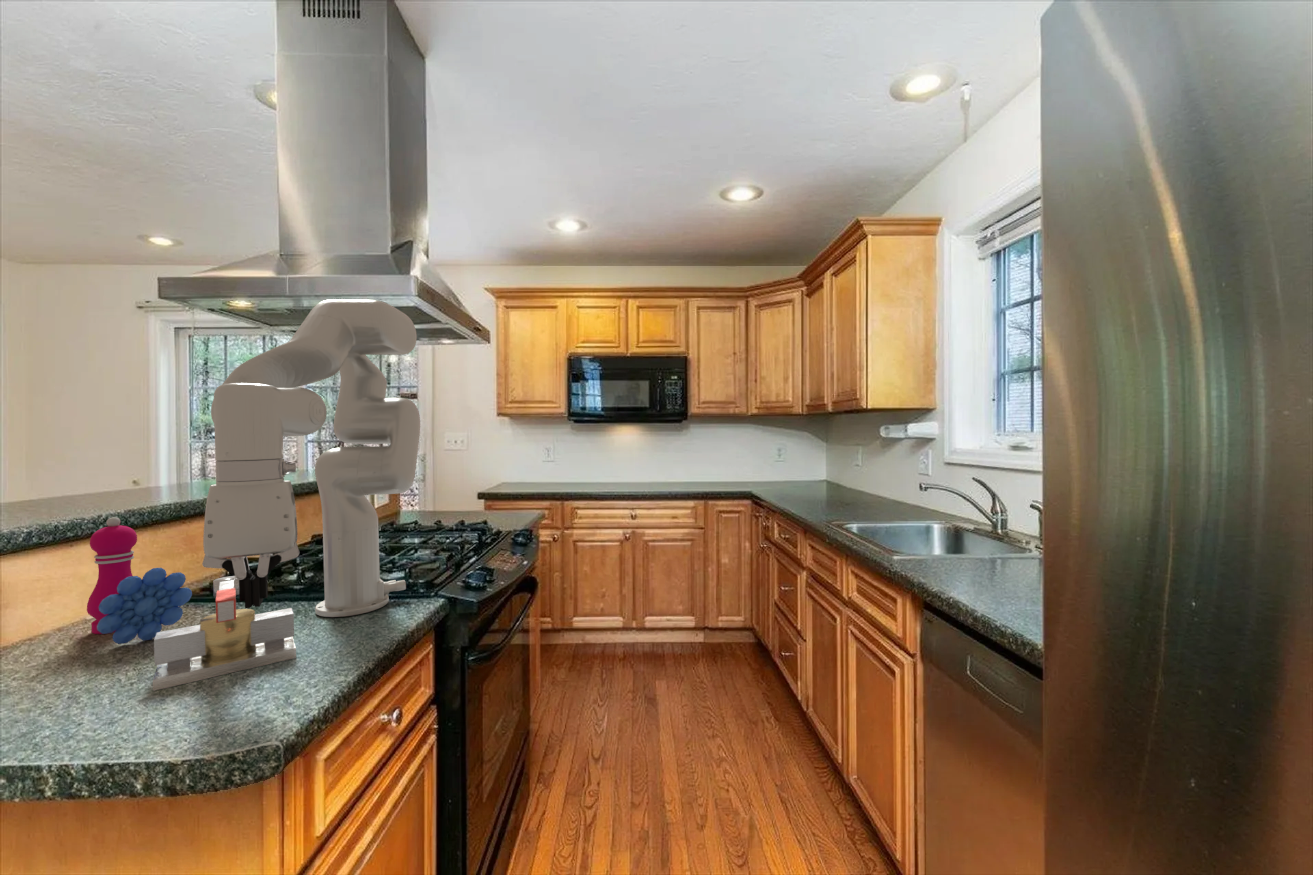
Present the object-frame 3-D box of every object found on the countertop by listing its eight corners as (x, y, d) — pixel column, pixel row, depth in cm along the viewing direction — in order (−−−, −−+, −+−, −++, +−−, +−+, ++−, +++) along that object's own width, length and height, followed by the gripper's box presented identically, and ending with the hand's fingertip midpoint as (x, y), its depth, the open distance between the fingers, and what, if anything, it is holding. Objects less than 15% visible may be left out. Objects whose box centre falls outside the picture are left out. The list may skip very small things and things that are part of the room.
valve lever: (214, 595, 80) (213, 577, 80) (240, 591, 82) (240, 573, 82) (210, 624, 68) (209, 602, 68) (241, 618, 70) (241, 597, 70)
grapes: (190, 624, 97) (188, 558, 97) (194, 633, 92) (192, 564, 92) (97, 643, 89) (95, 571, 89) (97, 655, 84) (95, 579, 84)
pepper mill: (153, 618, 101) (150, 512, 100) (129, 632, 94) (126, 518, 94) (104, 623, 98) (101, 515, 98) (76, 637, 92) (72, 521, 91)
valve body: (291, 640, 89) (289, 580, 89) (296, 657, 82) (294, 593, 82) (160, 668, 79) (158, 601, 79) (153, 690, 72) (150, 617, 72)
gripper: (316, 469, 81) (319, 589, 81) (188, 474, 74) (191, 606, 74) (312, 471, 74) (315, 602, 75) (171, 477, 67) (175, 623, 67)
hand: (254, 604), depth 74 cm, fingers closed
